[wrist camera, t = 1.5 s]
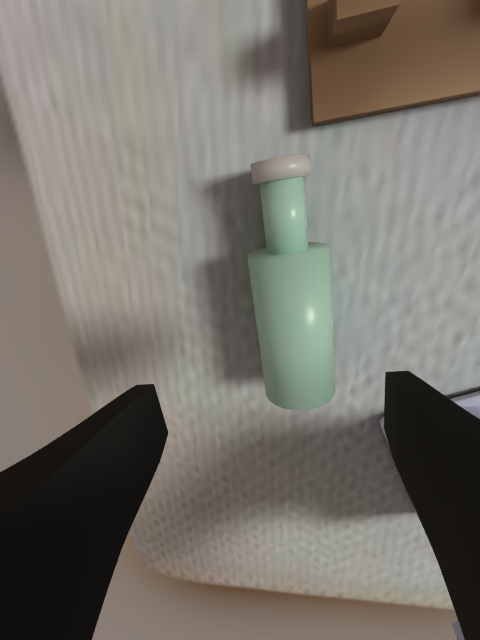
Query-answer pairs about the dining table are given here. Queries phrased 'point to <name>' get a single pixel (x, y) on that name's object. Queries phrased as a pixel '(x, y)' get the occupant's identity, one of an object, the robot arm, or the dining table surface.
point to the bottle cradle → (390, 55)
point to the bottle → (291, 291)
